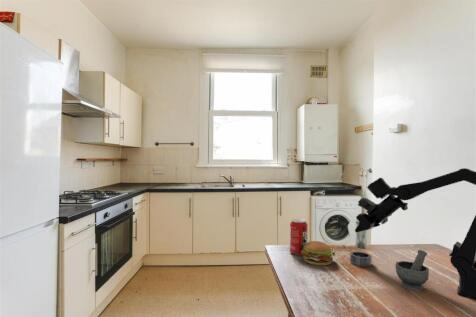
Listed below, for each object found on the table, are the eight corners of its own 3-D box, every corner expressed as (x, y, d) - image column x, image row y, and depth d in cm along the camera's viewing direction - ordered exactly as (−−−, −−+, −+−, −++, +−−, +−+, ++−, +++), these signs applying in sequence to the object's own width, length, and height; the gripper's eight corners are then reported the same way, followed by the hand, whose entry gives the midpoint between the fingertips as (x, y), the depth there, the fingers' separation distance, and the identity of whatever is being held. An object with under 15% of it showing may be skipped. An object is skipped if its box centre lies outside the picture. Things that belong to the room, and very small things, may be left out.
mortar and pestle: (414, 295, 87) (414, 257, 87) (388, 282, 96) (389, 248, 96) (438, 290, 91) (438, 254, 91) (411, 278, 100) (412, 245, 100)
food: (331, 270, 106) (332, 249, 106) (296, 262, 114) (297, 243, 114) (339, 259, 118) (339, 241, 118) (307, 253, 125) (307, 236, 125)
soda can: (286, 251, 128) (287, 218, 128) (301, 249, 130) (302, 218, 130) (294, 256, 120) (295, 222, 120) (310, 255, 123) (311, 221, 123)
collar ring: (368, 268, 109) (368, 259, 109) (347, 263, 114) (347, 254, 114) (373, 262, 115) (373, 254, 115) (353, 258, 120) (353, 250, 120)
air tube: (366, 249, 112) (366, 218, 112) (355, 248, 113) (355, 217, 113) (366, 246, 115) (366, 217, 115) (355, 245, 117) (356, 216, 117)
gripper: (380, 190, 118) (354, 212, 126) (361, 193, 105) (334, 217, 113) (400, 211, 112) (372, 233, 120) (383, 217, 99) (352, 241, 107)
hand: (357, 230), depth 115 cm, fingers closed on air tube, 4 cm apart
